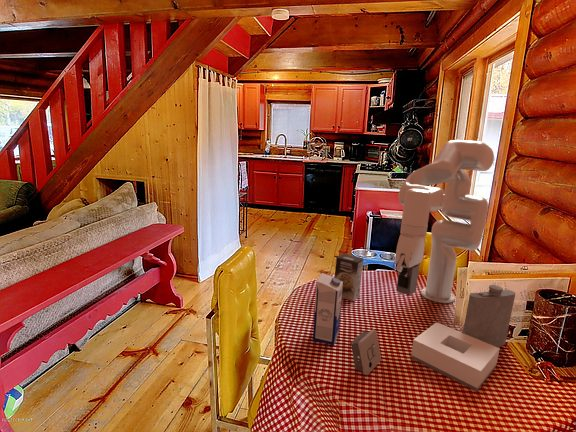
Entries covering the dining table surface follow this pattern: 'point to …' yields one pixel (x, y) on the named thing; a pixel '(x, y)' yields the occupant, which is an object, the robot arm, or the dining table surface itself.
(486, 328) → the hip flask
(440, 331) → the socket
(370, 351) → the electrical switch
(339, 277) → the coffee box
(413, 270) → the plug
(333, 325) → the milk carton
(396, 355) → the dining table surface
